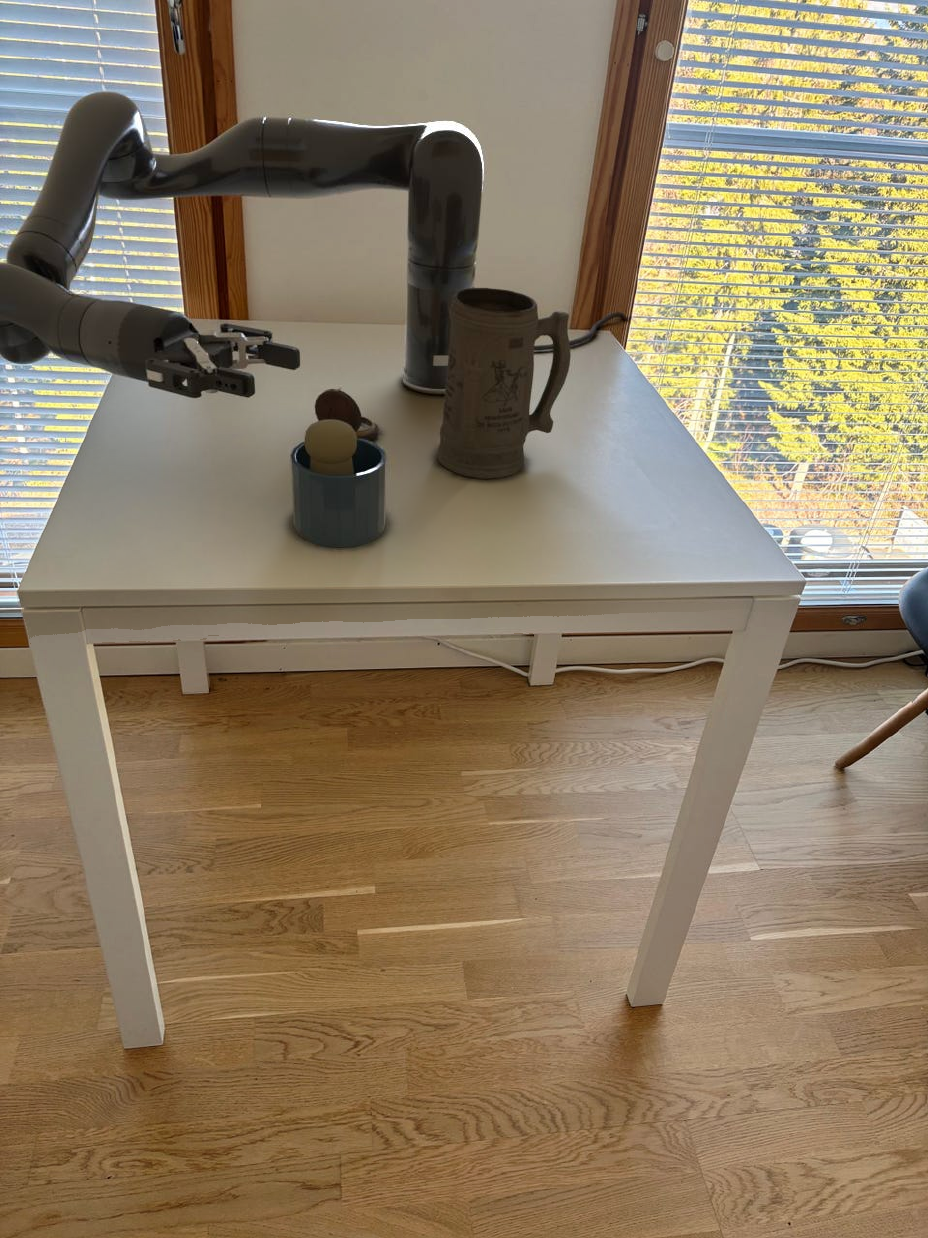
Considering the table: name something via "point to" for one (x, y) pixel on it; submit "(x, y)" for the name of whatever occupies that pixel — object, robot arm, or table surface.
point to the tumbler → (340, 498)
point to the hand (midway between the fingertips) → (276, 372)
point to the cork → (331, 447)
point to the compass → (344, 412)
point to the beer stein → (496, 380)
